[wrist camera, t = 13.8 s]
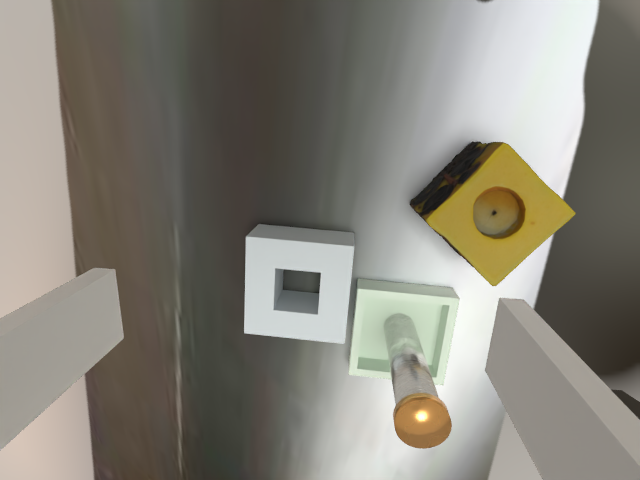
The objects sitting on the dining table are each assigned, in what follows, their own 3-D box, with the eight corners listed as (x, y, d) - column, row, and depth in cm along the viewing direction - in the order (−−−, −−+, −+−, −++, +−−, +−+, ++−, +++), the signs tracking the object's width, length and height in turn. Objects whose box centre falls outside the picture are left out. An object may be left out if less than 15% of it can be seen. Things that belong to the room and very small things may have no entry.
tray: (357, 278, 48) (357, 288, 45) (452, 287, 47) (459, 298, 44) (348, 359, 51) (348, 374, 48) (437, 369, 51) (443, 385, 48)
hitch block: (258, 224, 47) (246, 236, 42) (354, 232, 47) (354, 246, 41) (256, 310, 51) (244, 333, 45) (345, 319, 50) (344, 343, 44)
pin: (382, 308, 48) (398, 398, 32) (420, 312, 48) (455, 405, 32) (378, 341, 50) (391, 444, 33) (415, 345, 49) (446, 451, 33)
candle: (464, 259, 46) (494, 291, 37) (406, 204, 45) (420, 223, 36) (531, 198, 44) (581, 216, 34) (471, 138, 43) (505, 140, 33)
